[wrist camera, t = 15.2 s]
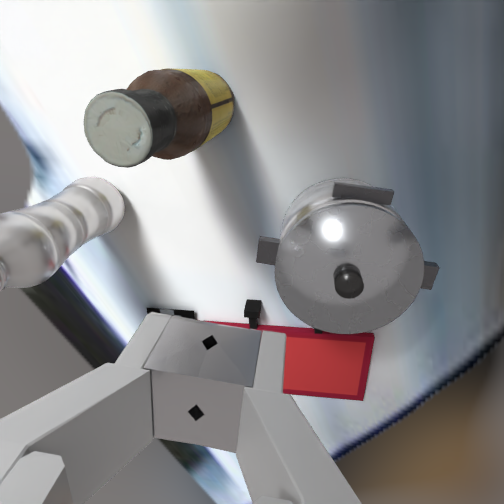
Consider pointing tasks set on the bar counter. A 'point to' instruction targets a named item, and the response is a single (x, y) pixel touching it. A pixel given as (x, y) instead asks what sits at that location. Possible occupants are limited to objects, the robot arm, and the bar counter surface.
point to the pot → (328, 195)
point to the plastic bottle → (55, 230)
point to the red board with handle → (312, 356)
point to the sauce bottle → (158, 116)
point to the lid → (349, 268)
